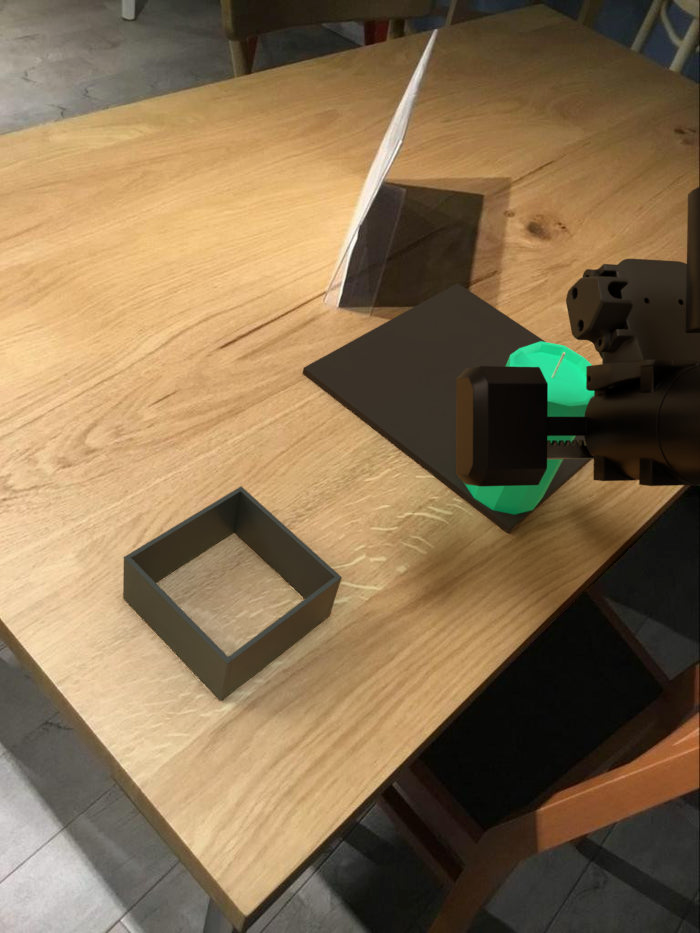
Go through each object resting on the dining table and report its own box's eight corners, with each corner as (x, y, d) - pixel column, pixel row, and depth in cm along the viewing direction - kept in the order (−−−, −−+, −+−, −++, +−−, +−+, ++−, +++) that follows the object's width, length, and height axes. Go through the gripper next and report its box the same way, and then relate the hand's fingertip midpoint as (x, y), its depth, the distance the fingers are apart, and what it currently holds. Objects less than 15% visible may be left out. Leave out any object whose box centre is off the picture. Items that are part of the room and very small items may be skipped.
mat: (642, 413, 72) (645, 408, 72) (508, 533, 60) (510, 528, 60) (455, 288, 79) (457, 282, 79) (302, 373, 67) (303, 367, 67)
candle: (528, 451, 65) (591, 324, 57) (554, 514, 61) (625, 387, 53) (453, 450, 64) (505, 319, 55) (474, 514, 60) (534, 384, 51)
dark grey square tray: (329, 615, 53) (342, 577, 50) (220, 701, 48) (227, 663, 45) (234, 527, 56) (241, 485, 53) (122, 598, 51) (123, 556, 48)
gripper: (872, 262, 43) (674, 305, 58) (530, 240, 38) (409, 293, 53) (867, 487, 44) (671, 472, 59) (528, 495, 39) (409, 477, 54)
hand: (547, 426), depth 56 cm, fingers open, 9 cm apart
